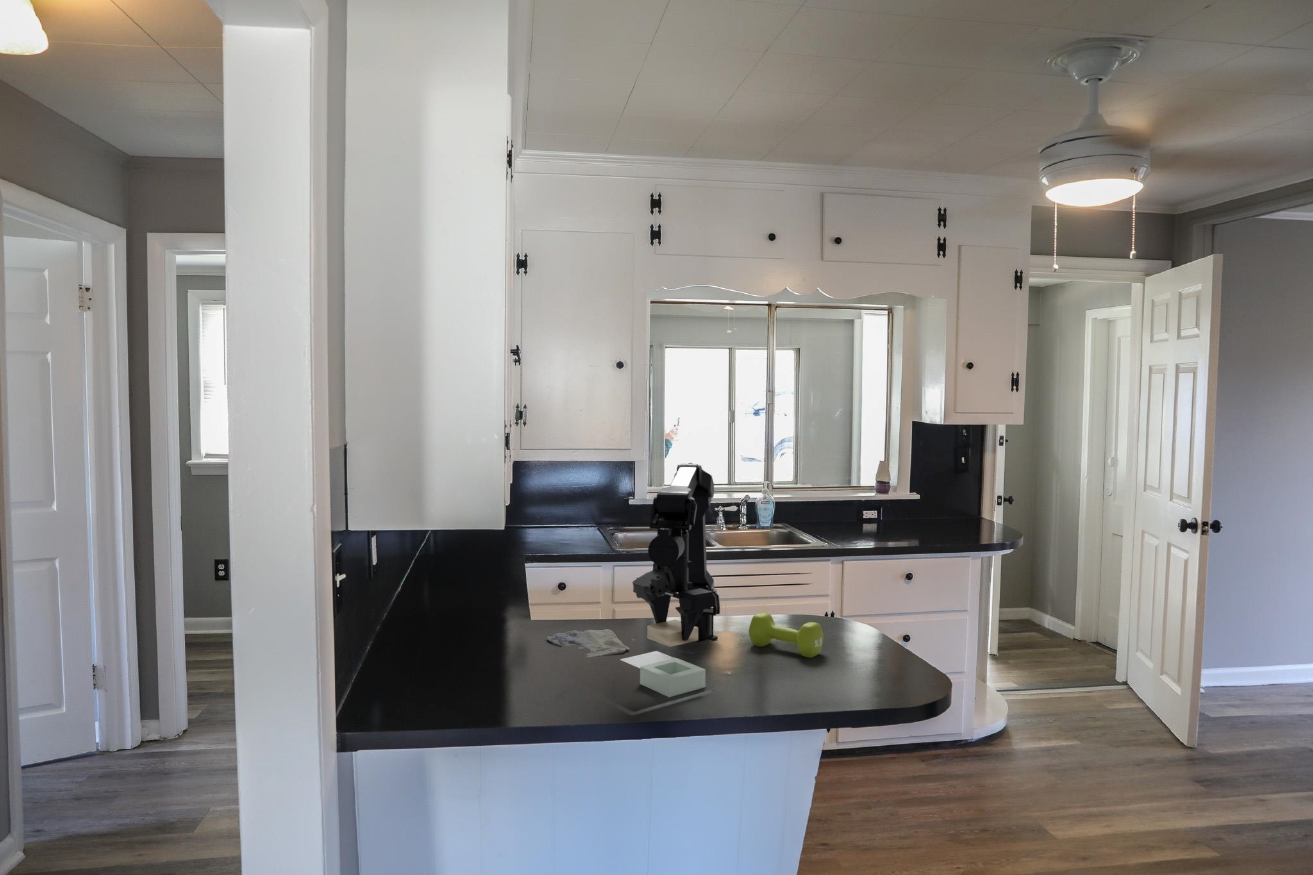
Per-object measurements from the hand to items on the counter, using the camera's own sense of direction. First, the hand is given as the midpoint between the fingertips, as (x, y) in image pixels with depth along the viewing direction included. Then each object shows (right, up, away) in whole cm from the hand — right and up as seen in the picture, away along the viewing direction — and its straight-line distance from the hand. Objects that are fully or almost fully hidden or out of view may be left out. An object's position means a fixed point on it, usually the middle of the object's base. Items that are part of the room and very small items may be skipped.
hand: (672, 636), depth 161 cm
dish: (0, -10, 0) cm, 10 cm away
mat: (-4, -10, +15) cm, 18 cm away
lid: (0, -1, 0) cm, 1 cm away
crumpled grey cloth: (-18, -10, +27) cm, 34 cm away
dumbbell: (+26, -10, +26) cm, 38 cm away
